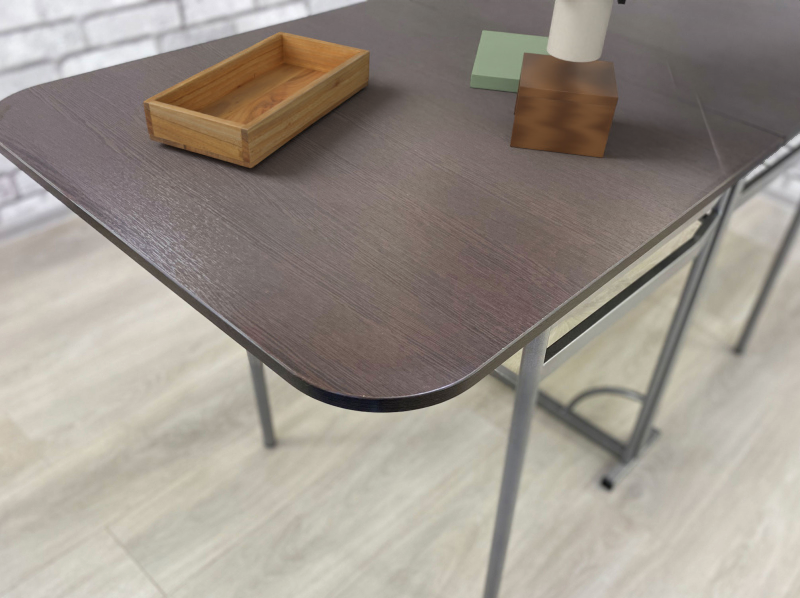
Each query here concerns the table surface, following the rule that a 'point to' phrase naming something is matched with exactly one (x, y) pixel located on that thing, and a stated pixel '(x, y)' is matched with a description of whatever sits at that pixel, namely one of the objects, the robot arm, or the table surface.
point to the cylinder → (579, 29)
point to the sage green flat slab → (503, 59)
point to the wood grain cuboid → (564, 105)
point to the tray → (257, 98)
